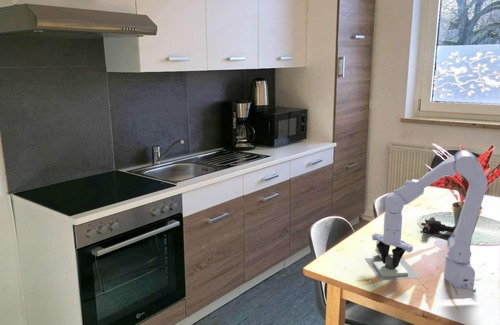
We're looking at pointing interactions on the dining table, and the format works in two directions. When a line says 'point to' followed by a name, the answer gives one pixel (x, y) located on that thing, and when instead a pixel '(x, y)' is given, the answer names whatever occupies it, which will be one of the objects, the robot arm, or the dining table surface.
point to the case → (408, 268)
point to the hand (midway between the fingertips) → (390, 264)
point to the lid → (389, 267)
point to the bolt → (377, 249)
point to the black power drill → (435, 226)
